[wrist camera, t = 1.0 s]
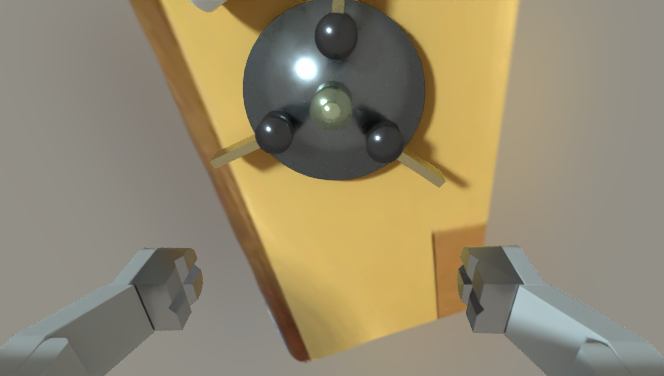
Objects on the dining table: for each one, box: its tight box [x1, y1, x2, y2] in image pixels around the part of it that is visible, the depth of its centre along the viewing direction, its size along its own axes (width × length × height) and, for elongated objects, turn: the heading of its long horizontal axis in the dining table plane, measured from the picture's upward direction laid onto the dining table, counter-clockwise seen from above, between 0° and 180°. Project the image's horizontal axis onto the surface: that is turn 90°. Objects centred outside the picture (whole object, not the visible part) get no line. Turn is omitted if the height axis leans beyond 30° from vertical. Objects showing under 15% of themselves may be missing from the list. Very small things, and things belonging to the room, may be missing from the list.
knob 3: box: [366, 119, 446, 188], centre depth 45 cm, size 12×5×3 cm, turn 56°
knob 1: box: [210, 111, 296, 169], centre depth 45 cm, size 12×5×3 cm, turn 116°
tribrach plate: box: [243, 0, 425, 180], centre depth 43 cm, size 23×23×7 cm
